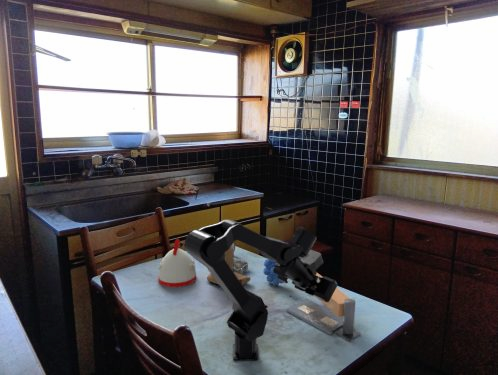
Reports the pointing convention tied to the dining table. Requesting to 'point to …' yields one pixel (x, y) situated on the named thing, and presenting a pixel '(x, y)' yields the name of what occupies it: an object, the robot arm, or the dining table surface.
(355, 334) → the grey flat block
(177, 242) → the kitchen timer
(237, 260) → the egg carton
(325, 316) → the label plate
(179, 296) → the dining table surface
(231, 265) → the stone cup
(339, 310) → the orange wooden beam
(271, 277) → the grapes
